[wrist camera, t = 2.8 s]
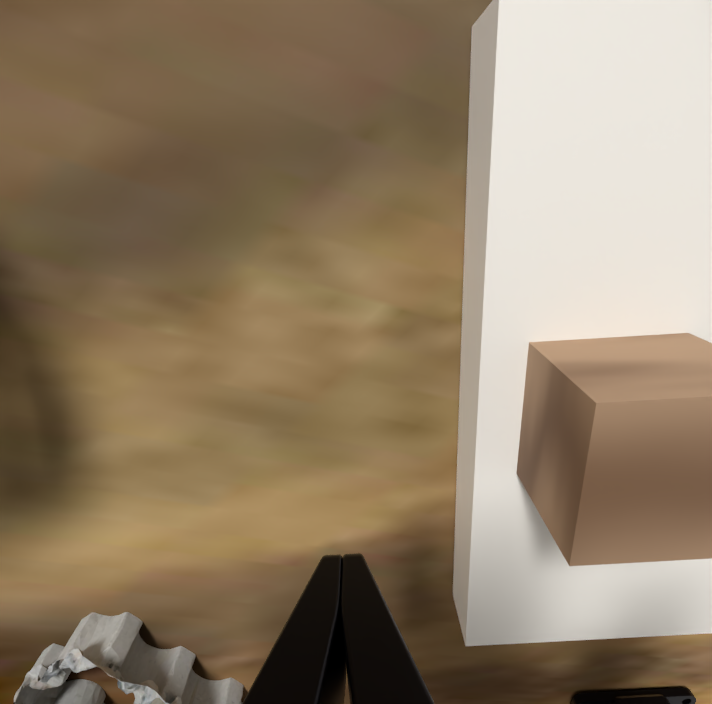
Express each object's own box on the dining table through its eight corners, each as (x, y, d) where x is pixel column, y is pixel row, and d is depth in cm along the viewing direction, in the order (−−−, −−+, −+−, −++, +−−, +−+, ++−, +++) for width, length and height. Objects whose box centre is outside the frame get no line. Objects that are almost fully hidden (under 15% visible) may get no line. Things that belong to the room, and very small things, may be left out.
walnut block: (657, 465, 15) (754, 555, 12) (516, 473, 15) (569, 566, 12) (688, 332, 14) (816, 390, 10) (528, 342, 14) (596, 403, 10)
